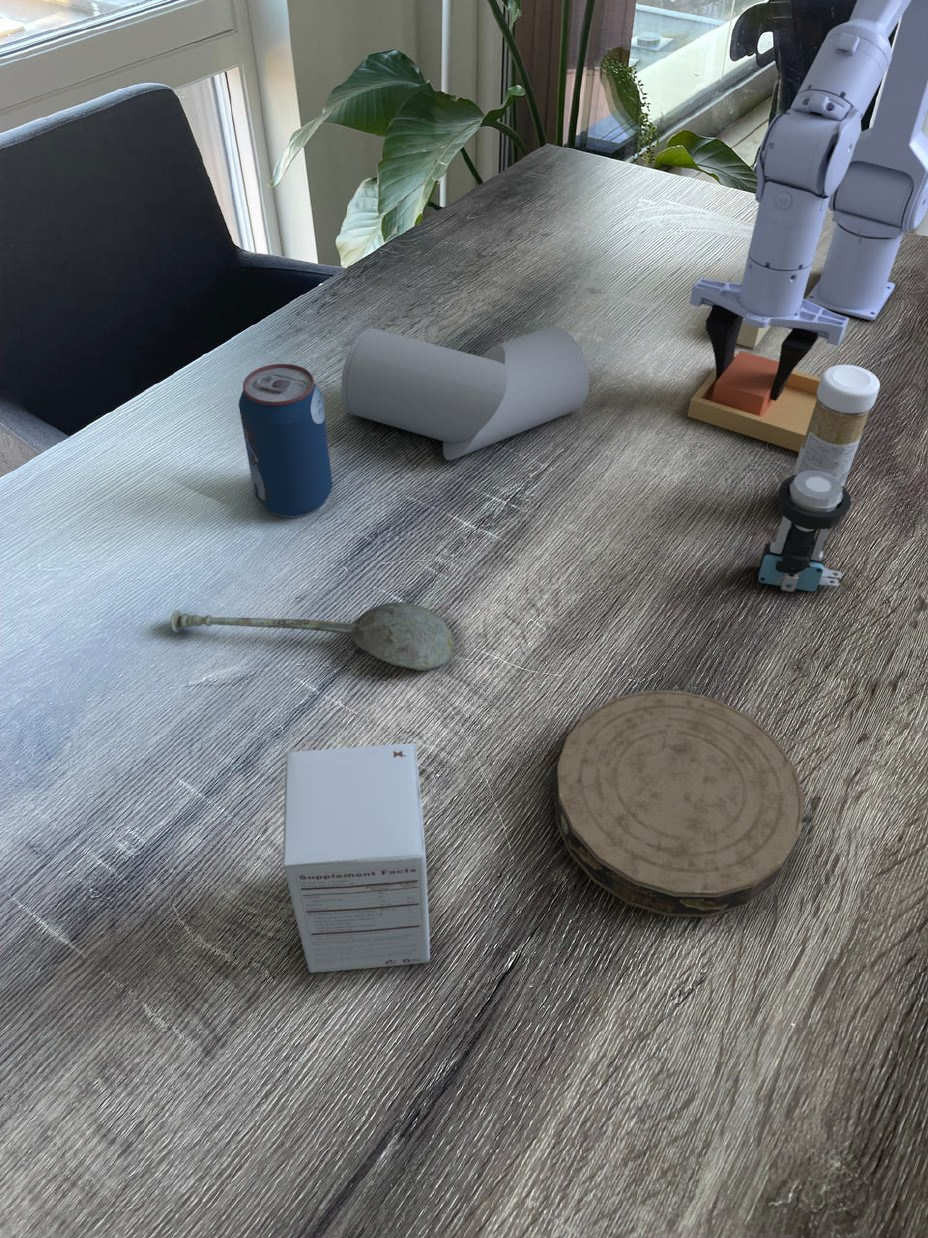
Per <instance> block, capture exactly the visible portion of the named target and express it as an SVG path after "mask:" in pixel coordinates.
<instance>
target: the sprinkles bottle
mask: <svg viewBox="0 0 928 1238" xmlns="http://www.w3.org/2000/svg"><path fill="white" fill-rule="evenodd" d="M820 378H821V380H820V382H819V386H818V389H817V398H816V399H817V401H816V403H815V407H814V410H813V413H812V416H811V419H810V422H809V426H808V428H807V432H806V435H805V438H804V442H803V444H802V446H801V449H800V452H798V455H797V459H796V463H795V466H794V469H793V475H797V474H799V473H801V472H805V471H808V470H811V471H821V472H825V473H828V474H831V475H832V476H834V477H835V478H837V479H838V480H839V481H840V483H841V484H842V486H843V487H845V484H846V481H847V478H848V476H849V472H850V470H851V467H852V464H853V461H854V459H855V455H856V452H857V449H858V447H859V444H860V441H861V438H862V434H863V431H864V428H865V424H866V421H867V419H868V416H869V413H870V412H871V410H872V409H873V407H874V405H875V403H876V400H877V397H878V396H879V395H878V394H879V391H880V389H881V388H880V387H881V384H880V380H879V378H878V377H877V376H876V375H875V374H874V373H873V372H871V371H869V370H868V369H866V368H864V367H861V366H857V365H852V364H838V365H833V366H830V367H828V368H827V369H825V370H824V371H823V372H822V374H821V377H820Z"/></svg>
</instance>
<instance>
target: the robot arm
mask: <svg viewBox="0 0 928 1238" xmlns="http://www.w3.org/2000/svg"><path fill="white" fill-rule="evenodd" d="M899 21H900V23H899ZM898 23H899V26H898V30H897V35H896V37H895V42H894V45H893V49H892V46H891V43H890V40H889V38H890V37H891V34H892V33H893V31H894V29H895V27H897V24H898ZM885 74H886V75H885ZM884 76H885V78H884ZM883 78H884V79H885V80H884V82H883V87H882V90H881V94H880V97H879V101H878V106H877V110H876V113H875V117H874V119H873V124H872V127H869V128H867V129H865V130H863V131H862V122H861V121H862V119H863V117H864V116H865V114H866V111H867V110H868V108H869V105H870V104H871V102H872V99H873V98H874V96H875V94H876V92H877V90H878V88H879V86H880V84H881V82H882V80H883ZM927 113H928V0H856V3H855V5H854V8H853V10H852V12H851V15H850V17H849V20H848V21H846V22H844V23H841V24H838V25H836V26H835V27H832V29H831V30H829V31H828V33H827V34H826V36H825V39H824V41H823V42H822V43H821V46H820V49H819V50H818V52H817V54H816V56H815V58H814V60H813V62H812V64H811V66H810V68H809V70H808V72H807V73H806V76H805V78H804V80H803V81H802V84H801V86H800V88H799V90H798V91H797V94H796V95H795V98H794V99H793V102H792V103H791V106H790V107H789V109H787V111H786V112H785V113H782V112H779V113H777V114H776V115H775V117H773V119H772V120H771V122H769V123H770V124H769V125H768V127H767V130H766V131H765V133H764V136H763V139H762V143H761V144H760V149H759V151H758V154H757V160H756V168H755V169H756V176H757V177H756V178H757V182H756V183H757V184H756V189H755V193H754V197H755V202H757V203H758V208H757V211H756V217H755V221H754V226H753V229H752V235H751V238H750V243H749V248H748V253H747V258H746V263H745V266H744V270H743V271H744V272H743V276H742V281H741V283H738V282H727V281H719V280H711V279H706V278H702V277H700V278H699V279H698V280H697V281H696V282H695V283H694V284H693V285H692V288H691V289H692V290H691V294H690V300H689V305H690V306H693V307H698V308H699V307H701V306H706V307H710V308H711V309H710V312H709V315H708V316H707V318H706V319H705V330H706V332H707V334H708V335H707V336H708V337H709V340H710V343H711V345H712V349H713V350H712V351H713V356H714V365H715V368H716V382H717V380H718V379H719V378H720V376H721V375H722V374H723V373H724V371H725V370H726V369H727V367H728V366H729V365H730V364H731V362H732V361H733V358H734V353H736V352H735V351H736V347H737V344H736V342H737V338H738V335H739V331H740V328H741V325H742V321H743V318H745V320H744V322H745V324H747V325H751V326H754V327H758V328H765V327H766V326H767V325H772V326H773V327H782V328H784V329H785V328H786V329H789V330H791V331H790V332H789V333H788V335H787V336H786V337H785V338H784V339H783V341H782V343H781V345H780V353H779V354H780V355H779V361H778V362H779V365H778V370H777V374H776V377H775V380H774V383H773V386H772V390H771V395H770V399H771V400H774V401H776V400H777V399H778V398H779V396H780V395H781V393H782V391H783V389H784V386H785V384H786V382H787V380H788V378H789V376H790V374H791V372H792V371H793V370H795V368H796V367H797V366H798V365H799V363H800V362H801V361H802V360H803V359H804V357H805V356H806V355H807V354H808V353H809V352H810V350H812V348H813V347H814V345H815V344H816V342H817V341H818V339H819V338H821V339H824V340H826V343H827V344H829V345H833V346H836V347H837V346H839V345H840V343H841V342H842V340H843V338H844V337H845V334H846V331H847V327H848V323H849V321H850V317H848V316H844V315H840V314H837V313H841V314H845V315H849V316H853V317H856V318H860V319H864V320H868V321H874V320H875V319H876V318H877V317H878V315H879V313H880V311H881V310H882V308H883V307H884V305H885V304H886V302H887V300H888V299H889V297H890V296H891V294H892V293H893V291H894V290H895V287H896V284H895V283H894V282H890V281H889V278H890V276H891V272H892V269H893V266H894V263H895V260H896V257H897V255H898V252H899V248H900V245H901V241H902V238H903V236H904V233H910V232H912V231H913V230H915V229H916V228H918V226H919V225H920V224H921V223H922V221H923V219H924V217H925V216H926V214H927V211H928V137H927V136H926V135H925V134H924V133H923V131H922V129H923V126H924V122H925V120H926V115H927ZM827 210H829V211H830V212H832V213H833V215H832V218H831V221H832V222H834V223H835V225H834V228H833V232H832V236H831V240H830V243H829V247H828V249H827V253H826V258H825V261H824V265H823V268H822V271H821V275H820V279H818V281H817V283H816V284H815V286H814V287H813V288H812V289H811V291H810V292H809V294H807V296H806V297H805V296H804V295H805V291H806V289H807V285H808V281H809V278H810V274H811V269H812V266H813V262H814V259H815V255H816V251H817V248H818V244H819V242H820V241H819V240H820V237H821V233H822V230H823V226H824V222H825V218H826V214H827ZM804 297H805V298H804ZM833 311H834V312H833ZM835 312H837V313H835ZM772 326H771V327H772Z"/></svg>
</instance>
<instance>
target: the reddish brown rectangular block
mask: <svg viewBox="0 0 928 1238" xmlns="http://www.w3.org/2000/svg"><path fill="white" fill-rule="evenodd" d="M778 365H779V361H778V360H775V359H771V358H766V357H764V356H760V355H757V354H753V353H750V352H746V351H743V350H740V351H739V352H738V355H737V356H736V357H735V358H734V360H733V361H732V362H731V364H730V365H729V366H728V367H727V369H726V370H725V371H724V373H723V374H722V375H721V376H720V378H719V379H718V380H717V382H716V383H715V387H714V392H713V397H712V402H715V403H718V404H722V405H725V406H728V407H731V408H734V409H738V410H741V411H744V412H747V413H750V414H753V415H757V416H760V417H763V415H764V414H765V412H766V411H767V409H768V408H769V406H770V405H771V404H772V402H773V401H774V400H771V399H770V395H771V390H772V386H773V383H774V380H775V377H776V374H777V370H778Z"/></svg>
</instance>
